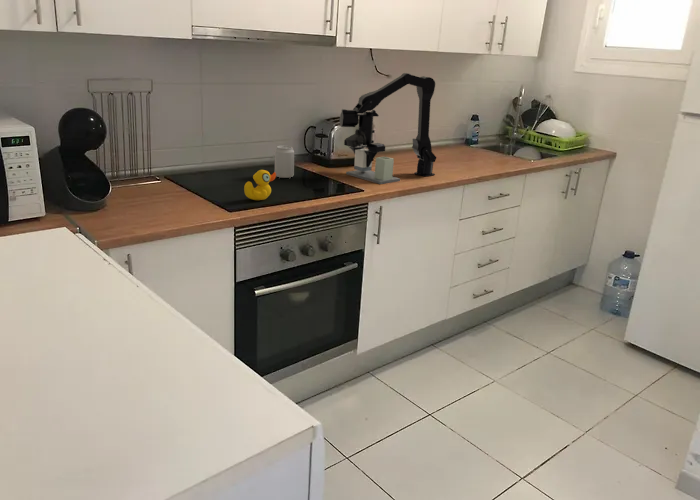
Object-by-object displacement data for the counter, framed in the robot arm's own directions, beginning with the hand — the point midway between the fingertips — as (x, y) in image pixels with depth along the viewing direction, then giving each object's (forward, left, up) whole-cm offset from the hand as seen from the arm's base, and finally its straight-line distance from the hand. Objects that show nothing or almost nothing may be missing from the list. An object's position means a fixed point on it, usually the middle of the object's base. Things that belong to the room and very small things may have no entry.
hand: (363, 165), depth 239 cm
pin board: (0, +6, -4) cm, 7 cm away
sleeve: (0, 0, -2) cm, 2 cm away
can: (+31, -12, -4) cm, 34 cm away
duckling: (+58, +11, -4) cm, 59 cm away
